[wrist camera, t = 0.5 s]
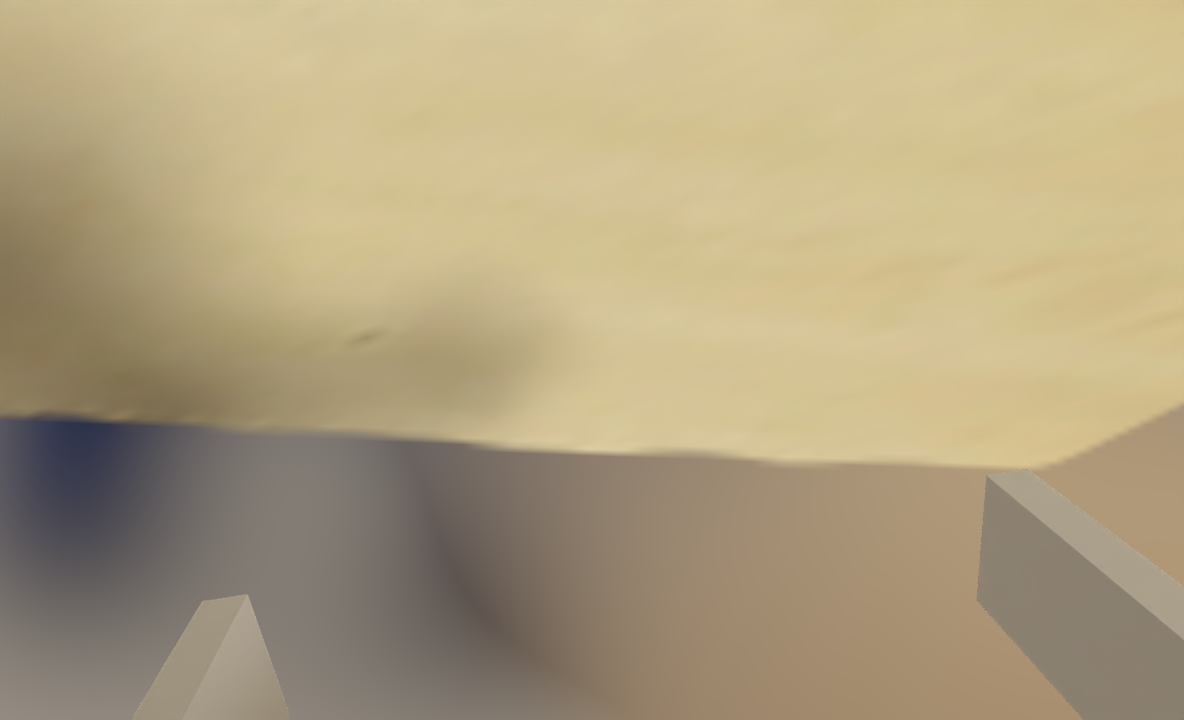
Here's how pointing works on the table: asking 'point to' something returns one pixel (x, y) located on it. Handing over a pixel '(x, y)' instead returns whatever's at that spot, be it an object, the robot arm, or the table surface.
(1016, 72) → the table surface
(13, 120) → the table surface
